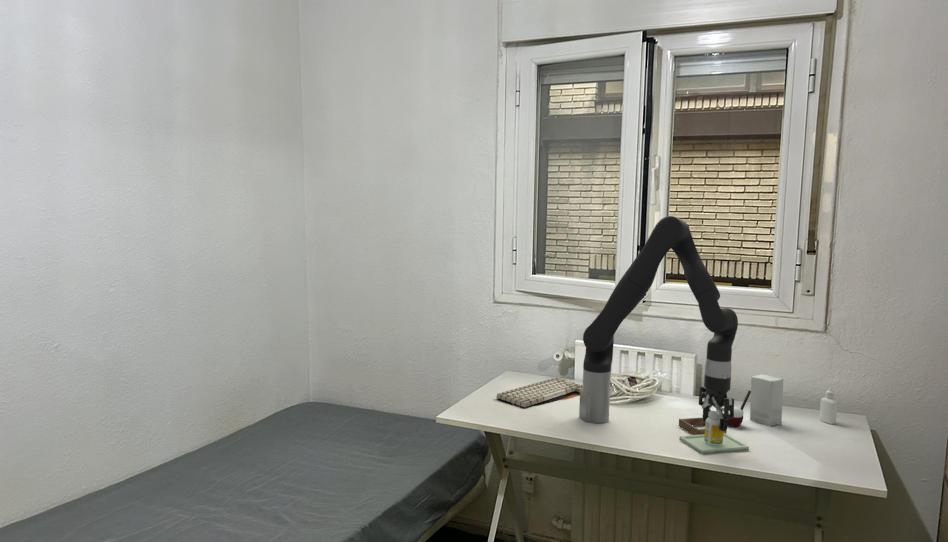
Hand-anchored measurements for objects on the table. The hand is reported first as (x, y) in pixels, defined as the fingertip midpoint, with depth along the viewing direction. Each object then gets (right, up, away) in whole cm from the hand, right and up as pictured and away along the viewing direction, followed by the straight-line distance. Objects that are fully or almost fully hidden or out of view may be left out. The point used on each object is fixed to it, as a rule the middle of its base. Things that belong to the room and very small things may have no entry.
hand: (714, 425), depth 196 cm
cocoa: (+14, -5, +20) cm, 24 cm away
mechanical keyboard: (-47, -1, +49) cm, 68 cm away
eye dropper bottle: (+48, -5, +25) cm, 55 cm away
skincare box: (+26, -5, +24) cm, 35 cm away
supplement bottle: (0, -6, +1) cm, 6 cm away
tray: (0, -6, +1) cm, 6 cm away
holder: (+1, -5, +13) cm, 14 cm away
